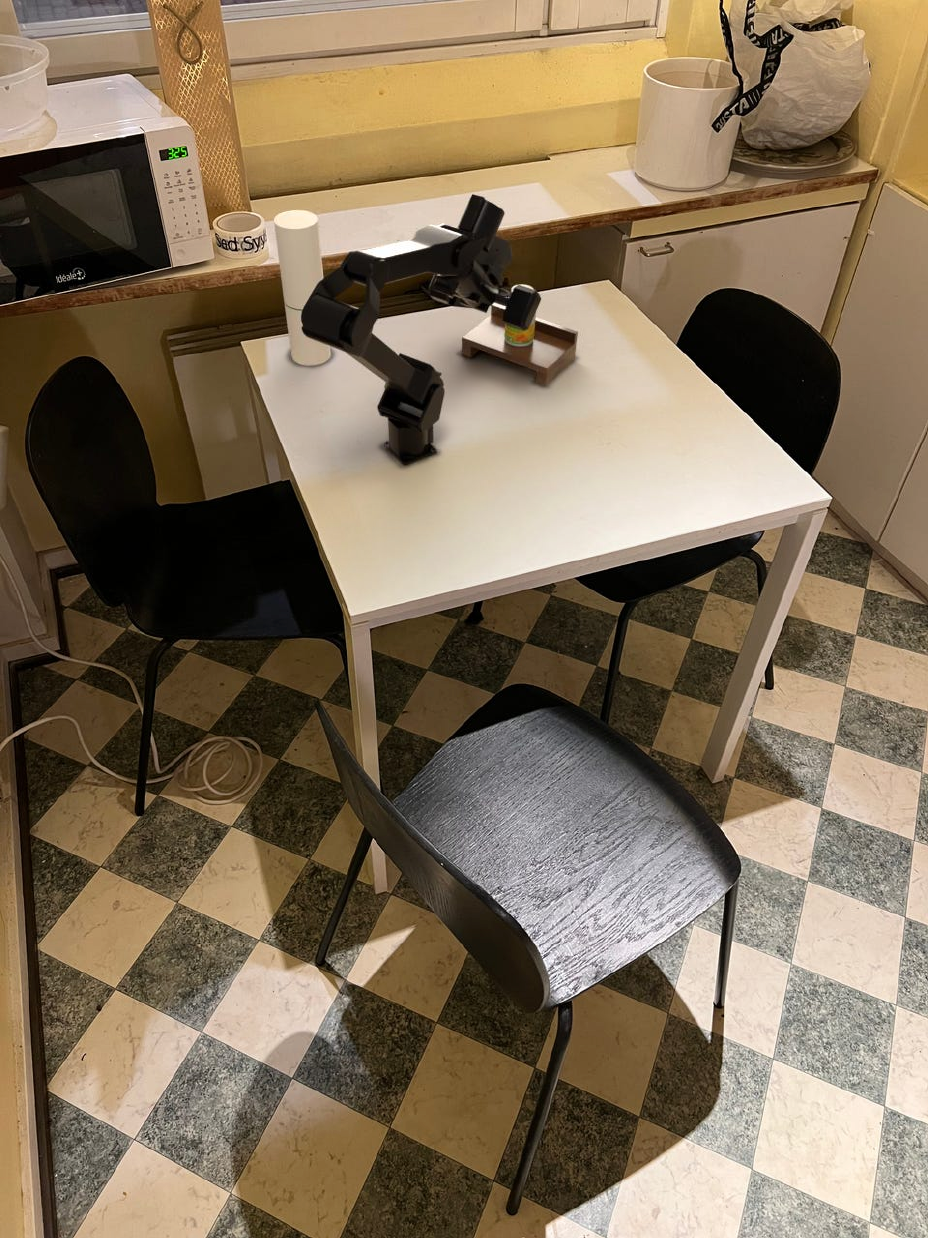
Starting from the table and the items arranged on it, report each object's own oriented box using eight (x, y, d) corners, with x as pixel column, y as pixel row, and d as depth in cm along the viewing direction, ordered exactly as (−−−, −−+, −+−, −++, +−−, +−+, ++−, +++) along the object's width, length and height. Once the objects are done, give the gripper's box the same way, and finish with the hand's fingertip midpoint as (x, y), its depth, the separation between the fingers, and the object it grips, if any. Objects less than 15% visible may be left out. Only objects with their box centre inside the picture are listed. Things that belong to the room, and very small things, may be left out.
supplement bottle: (498, 342, 166) (501, 292, 159) (512, 329, 169) (515, 279, 162) (525, 350, 164) (529, 300, 157) (538, 336, 167) (543, 286, 160)
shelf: (545, 385, 163) (548, 358, 159) (461, 354, 169) (462, 327, 165) (574, 358, 169) (578, 331, 165) (492, 329, 176) (494, 302, 171)
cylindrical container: (334, 346, 170) (321, 211, 152) (326, 366, 165) (312, 230, 147) (296, 343, 170) (279, 208, 152) (287, 363, 166) (269, 227, 147)
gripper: (540, 243, 137) (568, 284, 152) (438, 211, 144) (473, 253, 158) (510, 313, 138) (540, 347, 153) (410, 278, 145) (448, 314, 160)
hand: (500, 313), depth 156 cm, fingers open, 9 cm apart
